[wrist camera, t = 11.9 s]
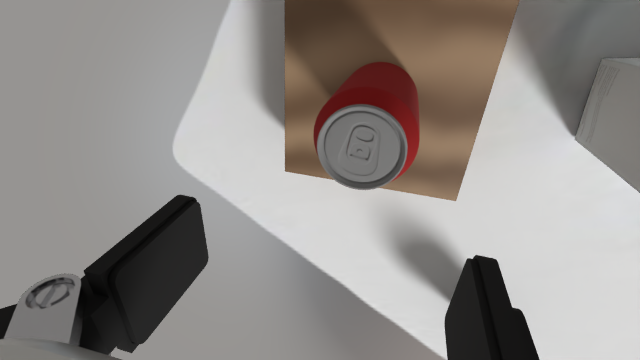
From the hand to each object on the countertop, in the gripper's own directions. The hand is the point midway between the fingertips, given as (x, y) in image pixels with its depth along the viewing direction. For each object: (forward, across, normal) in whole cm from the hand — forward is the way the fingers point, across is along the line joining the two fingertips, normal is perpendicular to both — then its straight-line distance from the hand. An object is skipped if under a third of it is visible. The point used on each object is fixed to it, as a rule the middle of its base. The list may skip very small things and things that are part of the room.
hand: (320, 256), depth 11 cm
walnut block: (+28, 0, 0) cm, 28 cm away
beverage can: (+21, 0, 0) cm, 21 cm away
